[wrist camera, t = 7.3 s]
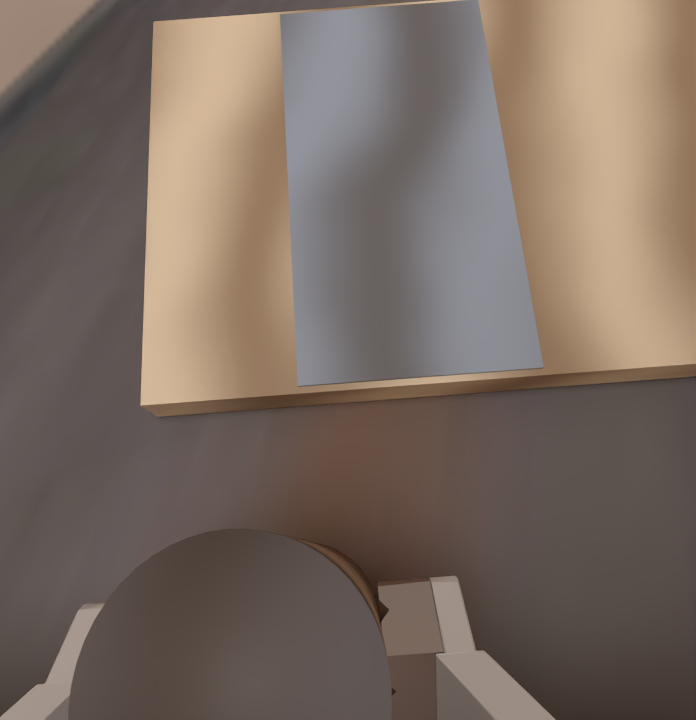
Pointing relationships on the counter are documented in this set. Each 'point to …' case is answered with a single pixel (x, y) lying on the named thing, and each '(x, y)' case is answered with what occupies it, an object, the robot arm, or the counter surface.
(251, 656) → the peg
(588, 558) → the counter surface
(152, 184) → the plywood board
